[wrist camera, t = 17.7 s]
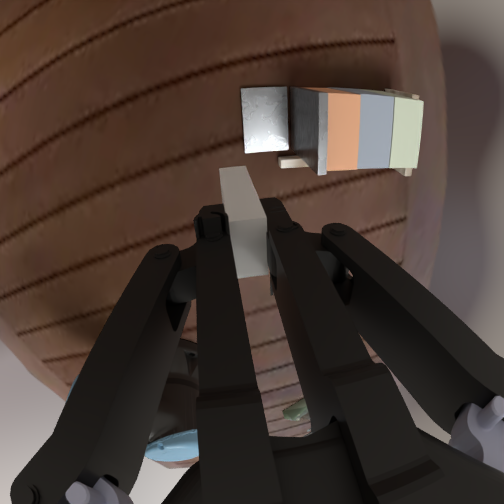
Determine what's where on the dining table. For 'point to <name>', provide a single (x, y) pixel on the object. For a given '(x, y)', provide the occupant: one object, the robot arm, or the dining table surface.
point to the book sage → (405, 131)
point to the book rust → (342, 129)
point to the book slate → (374, 128)
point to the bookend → (276, 123)
